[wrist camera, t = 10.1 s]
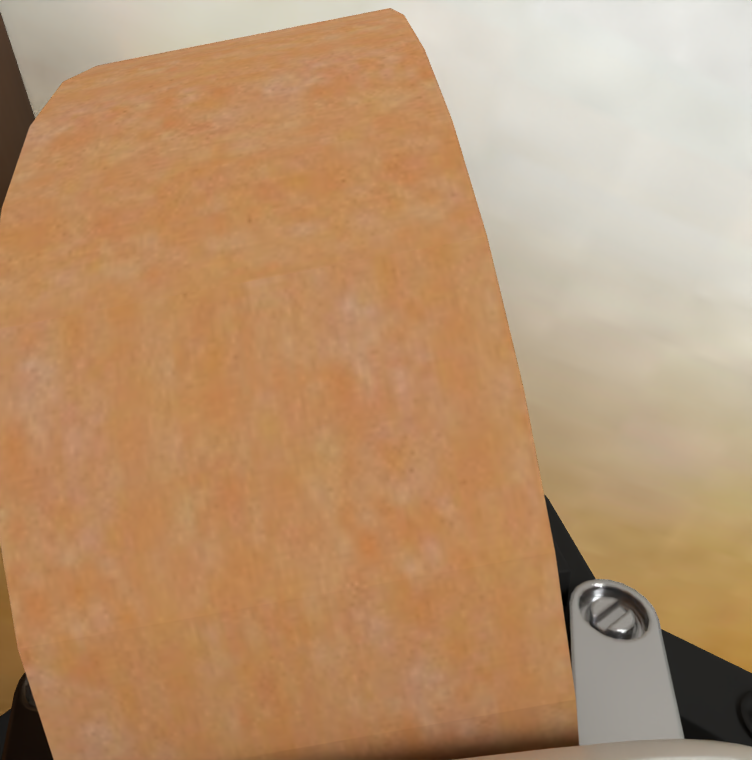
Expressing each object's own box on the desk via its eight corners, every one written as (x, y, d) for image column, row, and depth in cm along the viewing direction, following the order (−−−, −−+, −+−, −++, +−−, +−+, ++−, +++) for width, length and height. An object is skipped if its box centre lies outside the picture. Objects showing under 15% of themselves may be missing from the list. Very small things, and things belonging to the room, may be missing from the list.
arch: (320, 663, 19) (303, 1113, 10) (127, 67, 11) (-937, -323, 2) (467, 637, 19) (579, 1068, 10) (391, 20, 11) (667, -636, 2)
